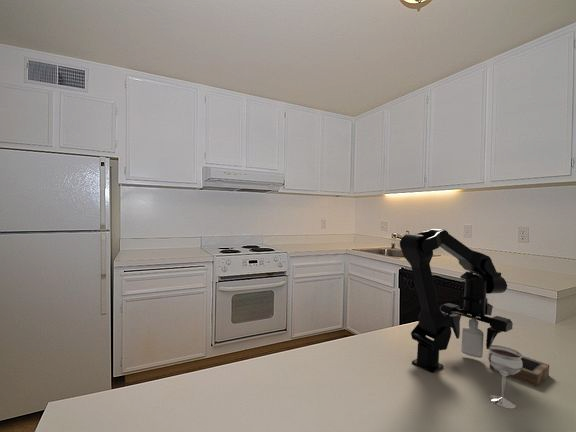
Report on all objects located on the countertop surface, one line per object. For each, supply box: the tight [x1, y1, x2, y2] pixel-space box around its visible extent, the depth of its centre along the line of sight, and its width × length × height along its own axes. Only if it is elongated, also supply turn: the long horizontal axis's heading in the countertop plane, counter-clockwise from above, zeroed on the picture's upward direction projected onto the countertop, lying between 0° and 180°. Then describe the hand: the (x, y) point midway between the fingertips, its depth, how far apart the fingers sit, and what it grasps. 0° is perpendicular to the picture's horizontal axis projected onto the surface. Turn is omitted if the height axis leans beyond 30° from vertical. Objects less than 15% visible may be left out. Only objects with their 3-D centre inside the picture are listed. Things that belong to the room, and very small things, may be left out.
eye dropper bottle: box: [461, 318, 485, 359], centre depth 92 cm, size 4×6×12 cm
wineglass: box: [487, 344, 524, 409], centre depth 70 cm, size 7×7×12 cm
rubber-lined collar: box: [489, 355, 550, 387], centre depth 85 cm, size 11×11×3 cm
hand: (472, 343), depth 92 cm, fingers closed on eye dropper bottle, 8 cm apart
